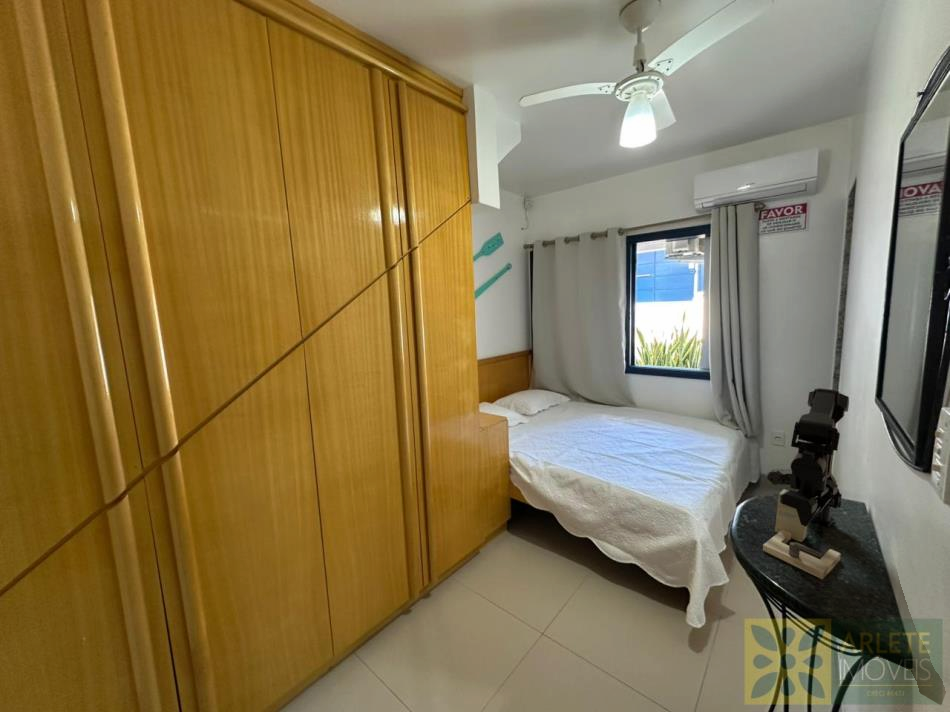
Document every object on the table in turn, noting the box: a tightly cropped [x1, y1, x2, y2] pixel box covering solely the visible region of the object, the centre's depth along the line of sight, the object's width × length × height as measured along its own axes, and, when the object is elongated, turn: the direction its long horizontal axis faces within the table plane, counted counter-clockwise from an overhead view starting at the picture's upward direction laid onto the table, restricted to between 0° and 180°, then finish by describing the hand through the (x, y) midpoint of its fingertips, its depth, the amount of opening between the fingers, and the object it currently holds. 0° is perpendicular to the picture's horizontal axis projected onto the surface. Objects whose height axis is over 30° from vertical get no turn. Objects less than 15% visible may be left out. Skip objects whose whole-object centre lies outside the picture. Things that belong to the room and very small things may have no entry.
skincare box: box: [774, 488, 808, 543], centre depth 101 cm, size 6×4×12 cm
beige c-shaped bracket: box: [762, 529, 841, 580], centre depth 93 cm, size 12×12×6 cm
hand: (806, 522), depth 94 cm, fingers open, 4 cm apart
